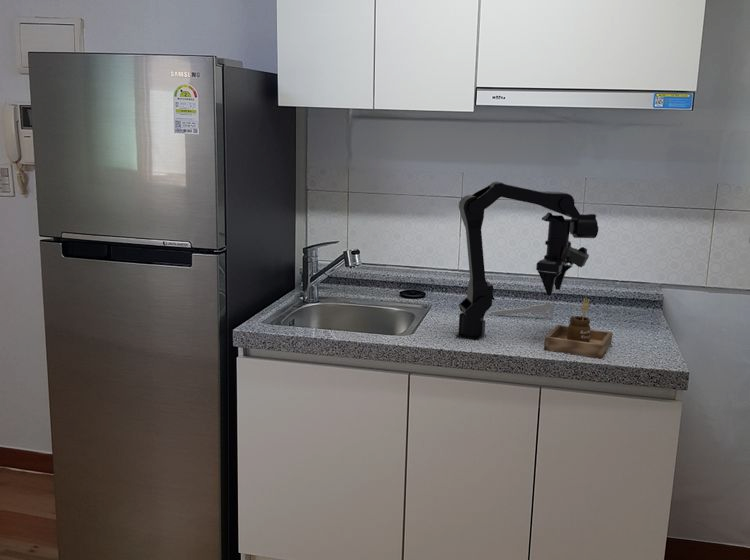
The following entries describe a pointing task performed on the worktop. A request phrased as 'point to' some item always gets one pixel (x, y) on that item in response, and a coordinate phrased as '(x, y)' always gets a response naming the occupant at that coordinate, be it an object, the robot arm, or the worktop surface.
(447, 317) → the worktop surface
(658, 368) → the worktop surface
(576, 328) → the utensil holder
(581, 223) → the robot arm
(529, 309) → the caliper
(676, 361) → the worktop surface
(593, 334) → the tray
